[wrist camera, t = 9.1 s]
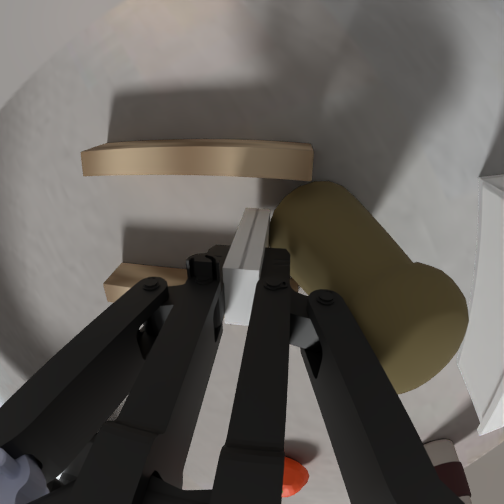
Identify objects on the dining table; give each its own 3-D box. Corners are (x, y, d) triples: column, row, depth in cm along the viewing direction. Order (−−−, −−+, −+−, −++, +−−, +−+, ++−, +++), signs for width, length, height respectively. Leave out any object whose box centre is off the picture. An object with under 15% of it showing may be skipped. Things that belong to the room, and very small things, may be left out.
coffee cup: (403, 442, 30) (416, 545, 17) (470, 425, 29) (493, 518, 15) (390, 470, 35) (397, 554, 21) (449, 456, 33) (463, 535, 20)
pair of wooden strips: (125, 279, 23) (107, 301, 20) (106, 143, 18) (80, 151, 16) (295, 297, 22) (295, 324, 19) (310, 143, 17) (313, 151, 14)
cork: (370, 245, 20) (482, 357, 10) (290, 289, 20) (367, 435, 11) (344, 163, 17) (498, 253, 7) (250, 212, 17) (334, 366, 8)
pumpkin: (248, 462, 37) (235, 499, 31) (271, 442, 33) (259, 485, 27) (292, 477, 36) (284, 513, 31) (321, 458, 33) (314, 500, 27)
